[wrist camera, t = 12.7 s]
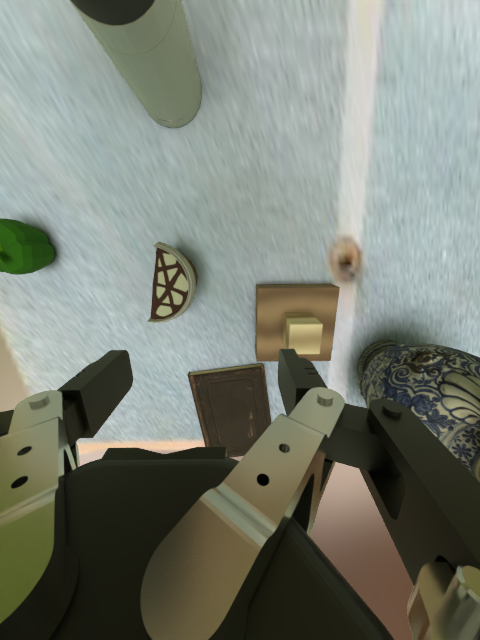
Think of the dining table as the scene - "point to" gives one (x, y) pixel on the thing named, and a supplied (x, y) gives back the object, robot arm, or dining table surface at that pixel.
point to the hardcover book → (231, 406)
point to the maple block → (302, 333)
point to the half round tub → (171, 284)
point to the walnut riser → (293, 300)
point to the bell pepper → (23, 248)
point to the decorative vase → (429, 391)
